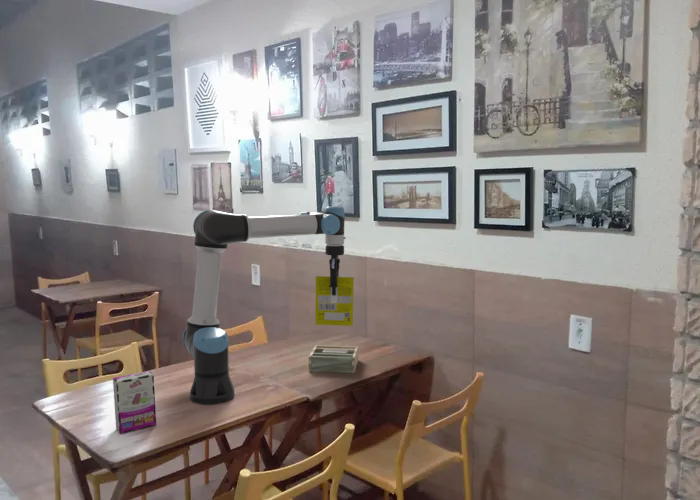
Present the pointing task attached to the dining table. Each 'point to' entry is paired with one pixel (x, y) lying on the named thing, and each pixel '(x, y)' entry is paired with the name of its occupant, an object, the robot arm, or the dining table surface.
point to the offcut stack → (335, 351)
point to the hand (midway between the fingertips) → (334, 302)
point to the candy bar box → (134, 402)
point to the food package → (334, 311)
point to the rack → (333, 359)
